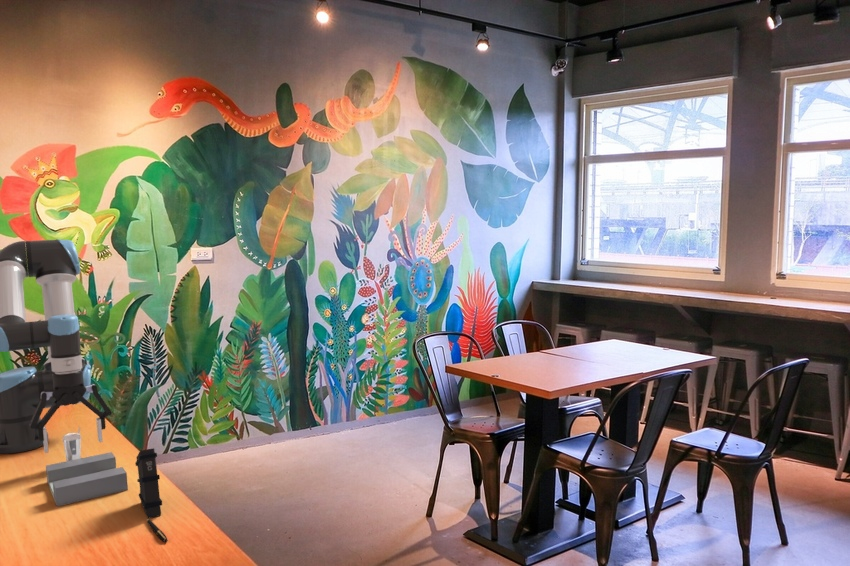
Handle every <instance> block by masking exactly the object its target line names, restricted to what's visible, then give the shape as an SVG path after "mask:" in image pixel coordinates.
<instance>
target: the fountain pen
mask: <svg viewBox="0 0 850 566" xmlns="http://www.w3.org/2000/svg"><path fill="white" fill-rule="evenodd" d="M146 523H147V524H148V525H149V527H150V528H151V529H152V531H153V532H154V533H155V535H156V537H158V538H159V539H160V540H161V541H162V542H164V543H167V542H168V537H167V536H166V534H165V533H164V532H163V531H162V530H161V529H160V528H159V527H158V526H157V525H156V524H155V523H154V522H153V521H152V520H151V519H150V518H146Z"/></svg>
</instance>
